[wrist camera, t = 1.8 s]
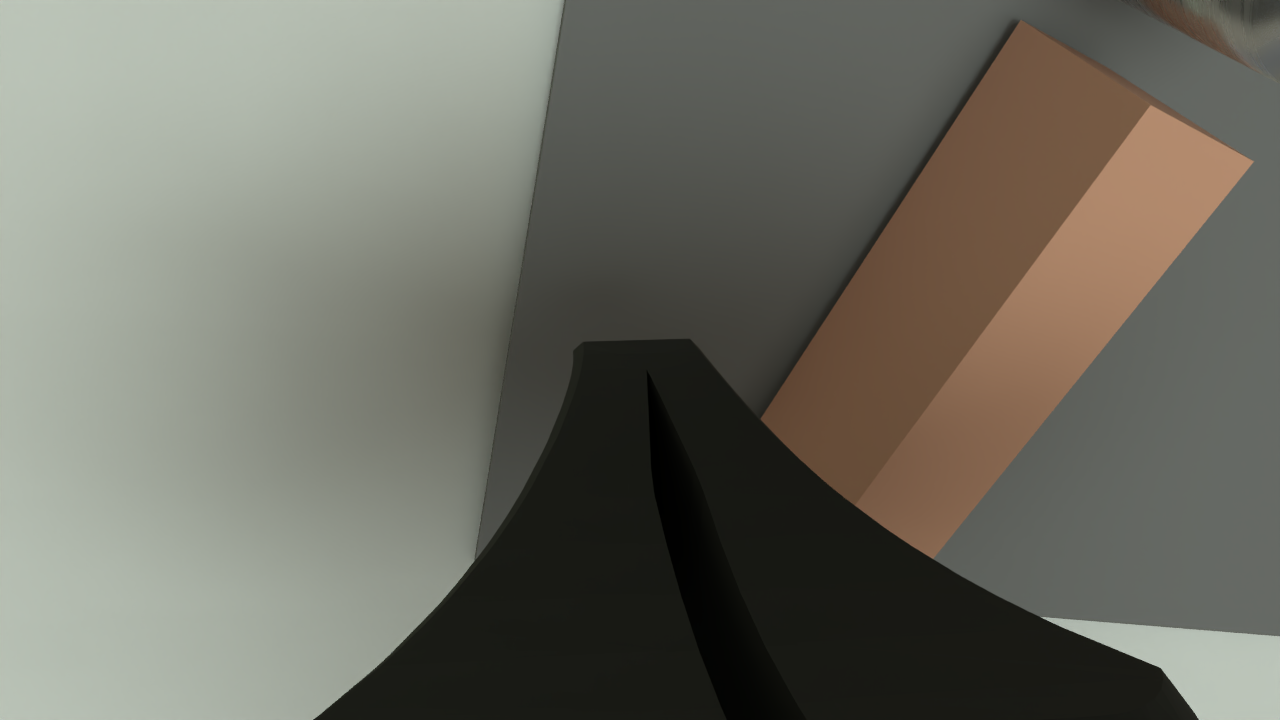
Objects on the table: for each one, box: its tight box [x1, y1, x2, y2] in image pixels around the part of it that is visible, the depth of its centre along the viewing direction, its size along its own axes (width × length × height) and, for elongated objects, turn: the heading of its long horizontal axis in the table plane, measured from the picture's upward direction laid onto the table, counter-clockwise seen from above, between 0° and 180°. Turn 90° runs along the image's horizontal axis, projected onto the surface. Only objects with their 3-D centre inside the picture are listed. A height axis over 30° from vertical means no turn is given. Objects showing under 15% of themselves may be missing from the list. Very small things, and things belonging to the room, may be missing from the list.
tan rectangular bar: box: [761, 20, 1254, 559], centre depth 16 cm, size 10×2×4 cm, turn 154°
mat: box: [475, 0, 1280, 636], centre depth 17 cm, size 16×19×1 cm
